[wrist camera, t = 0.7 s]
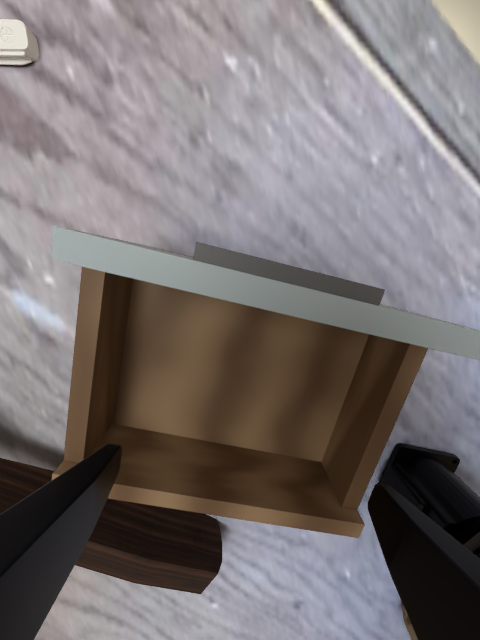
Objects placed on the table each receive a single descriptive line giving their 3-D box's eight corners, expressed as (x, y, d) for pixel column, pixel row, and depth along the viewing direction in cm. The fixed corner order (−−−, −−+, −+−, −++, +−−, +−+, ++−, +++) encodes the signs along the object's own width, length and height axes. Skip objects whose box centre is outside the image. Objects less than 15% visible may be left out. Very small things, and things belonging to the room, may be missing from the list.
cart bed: (372, 321, 20) (443, 350, 13) (321, 457, 23) (358, 538, 16) (129, 263, 19) (70, 262, 12) (108, 418, 22) (51, 489, 15)
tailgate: (384, 294, 18) (503, 319, 10) (375, 319, 18) (482, 360, 10) (139, 233, 16) (54, 205, 8) (135, 261, 17) (50, 259, 9)
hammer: (223, 481, 28) (-84, 369, 20) (234, 625, 17) (-420, 515, 9) (201, 509, 29) (-102, 413, 21) (200, 662, 18) (-428, 594, 10)
